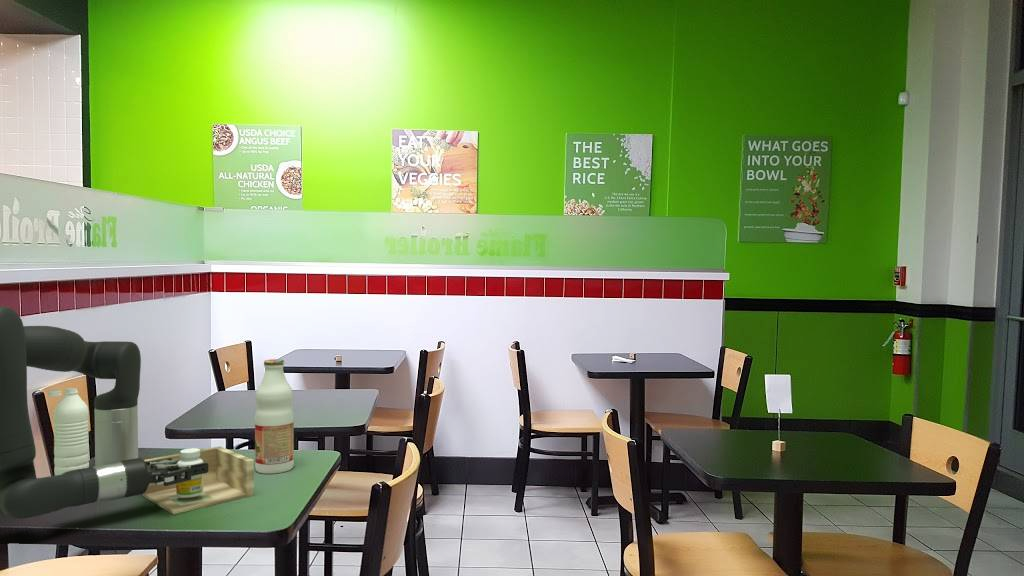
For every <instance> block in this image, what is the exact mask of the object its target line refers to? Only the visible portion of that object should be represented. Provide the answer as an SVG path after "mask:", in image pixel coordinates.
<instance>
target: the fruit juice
mask: <svg viewBox="0 0 1024 576" xmlns="http://www.w3.org/2000/svg"><path fill="white" fill-rule="evenodd" d="M263 365H264V366H263V367H264V369H265V370H264V375H263V377H262V380H261V382H260V385H259V386H258V387H257V389H256V391H255V395H254V396H255V397H254V398H255V402H256V405H257V407H256V410H255V413H254V469H255V471H256V472H257V473H259V474H265V475H267V474H269V475H272V474H274V475H275V474H279V473H285V472H288V471H291V470H292V469H293V468H294V465H295V455H294V454H295V449H294V448H295V445H294V444H295V443H294V442H295V441H294V439H295V436H294V435H295V434H294V433H295V432H294V431H295V429H294V427H295V425H294V422H295V417H294V416H295V415H294V410H293V407H292V401H293V399H294V392H293V391H294V390H293V388H292V387H291V385H290V384H289V383H288V380H287V379H286V375H285V373H284V367H285V359H282V358H271V359H270V358H269V359H265V360H264V362H263Z"/></svg>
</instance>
